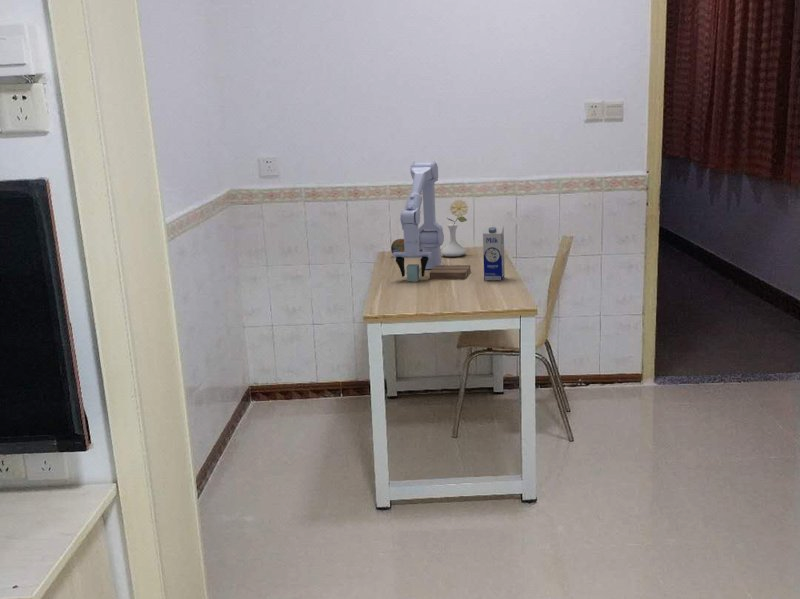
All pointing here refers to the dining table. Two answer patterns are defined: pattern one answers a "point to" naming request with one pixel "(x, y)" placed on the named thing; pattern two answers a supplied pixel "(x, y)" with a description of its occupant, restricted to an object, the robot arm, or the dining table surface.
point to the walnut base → (450, 272)
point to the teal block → (412, 272)
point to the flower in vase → (453, 247)
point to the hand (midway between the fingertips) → (413, 276)
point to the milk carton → (493, 252)
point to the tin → (400, 246)
